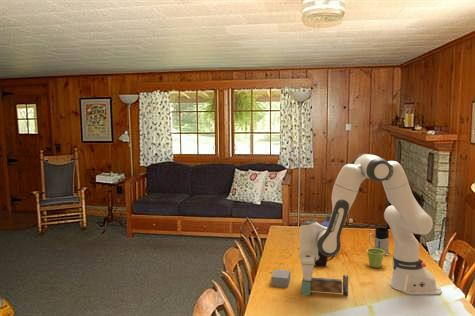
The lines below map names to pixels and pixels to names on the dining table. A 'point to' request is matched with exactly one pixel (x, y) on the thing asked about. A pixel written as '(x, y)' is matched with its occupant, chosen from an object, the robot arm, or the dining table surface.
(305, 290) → the grey-green rectangular block
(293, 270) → the dining table surface
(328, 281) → the gate
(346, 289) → the hinge post
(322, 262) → the coffee mug
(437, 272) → the dining table surface
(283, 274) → the rubber block
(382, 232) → the lidded pitcher
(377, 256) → the plant pot
